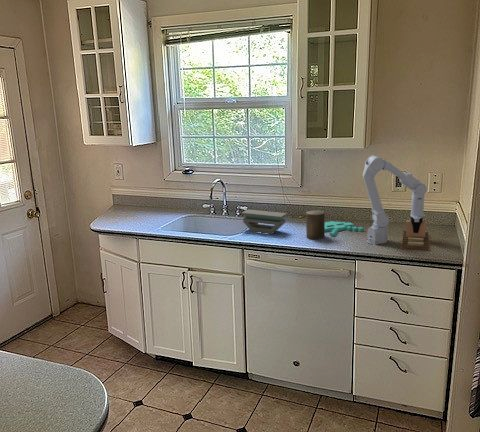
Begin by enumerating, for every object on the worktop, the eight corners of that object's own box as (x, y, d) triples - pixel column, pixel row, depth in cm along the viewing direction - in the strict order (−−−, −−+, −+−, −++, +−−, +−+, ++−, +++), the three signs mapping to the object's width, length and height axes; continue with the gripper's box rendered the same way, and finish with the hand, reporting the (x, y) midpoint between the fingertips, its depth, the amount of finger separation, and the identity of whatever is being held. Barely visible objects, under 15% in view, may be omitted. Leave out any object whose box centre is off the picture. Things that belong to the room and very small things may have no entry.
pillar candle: (325, 239, 235) (325, 211, 231) (306, 239, 236) (306, 212, 232) (323, 234, 244) (323, 207, 241) (305, 234, 245) (305, 207, 241)
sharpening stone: (287, 231, 251) (287, 213, 248) (281, 235, 245) (281, 216, 242) (248, 227, 263) (247, 209, 260) (242, 230, 257) (241, 212, 254)
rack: (430, 252, 209) (430, 247, 208) (400, 250, 214) (400, 245, 213) (428, 236, 232) (429, 231, 231) (402, 234, 237) (402, 230, 236)
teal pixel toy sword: (363, 231, 246) (342, 223, 264) (363, 228, 245) (342, 219, 263) (331, 237, 239) (313, 228, 257) (332, 233, 239) (313, 224, 257)
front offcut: (423, 249, 212) (423, 243, 211) (407, 248, 214) (407, 242, 214) (423, 248, 213) (423, 242, 213) (407, 246, 216) (407, 241, 215)
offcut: (423, 244, 218) (423, 239, 217) (407, 243, 220) (408, 238, 220) (423, 243, 219) (423, 238, 218) (407, 242, 222) (408, 237, 221)
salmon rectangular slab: (425, 238, 223) (426, 222, 221) (405, 237, 226) (406, 221, 224) (425, 237, 224) (426, 221, 222) (406, 236, 228) (406, 220, 225)
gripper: (426, 209, 213) (424, 237, 217) (425, 202, 226) (424, 228, 230) (410, 209, 215) (409, 235, 219) (411, 202, 228) (409, 227, 232)
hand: (415, 232), depth 224 cm, fingers closed on salmon rectangular slab, 2 cm apart
